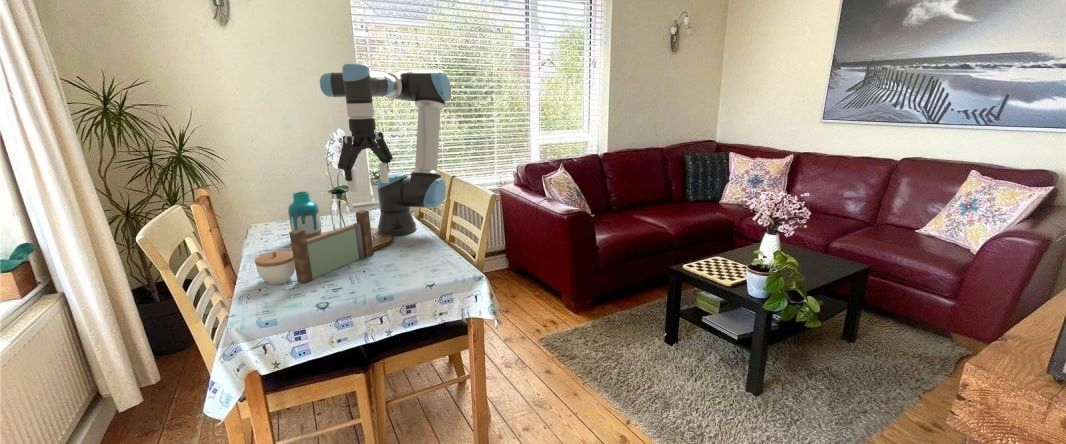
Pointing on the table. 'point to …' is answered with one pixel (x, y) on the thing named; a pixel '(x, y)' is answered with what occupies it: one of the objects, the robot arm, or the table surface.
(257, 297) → the table surface
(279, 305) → the table surface
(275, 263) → the lidded jar
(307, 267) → the gate posts
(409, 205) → the robot arm
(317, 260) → the gate
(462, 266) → the table surface
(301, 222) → the vase
